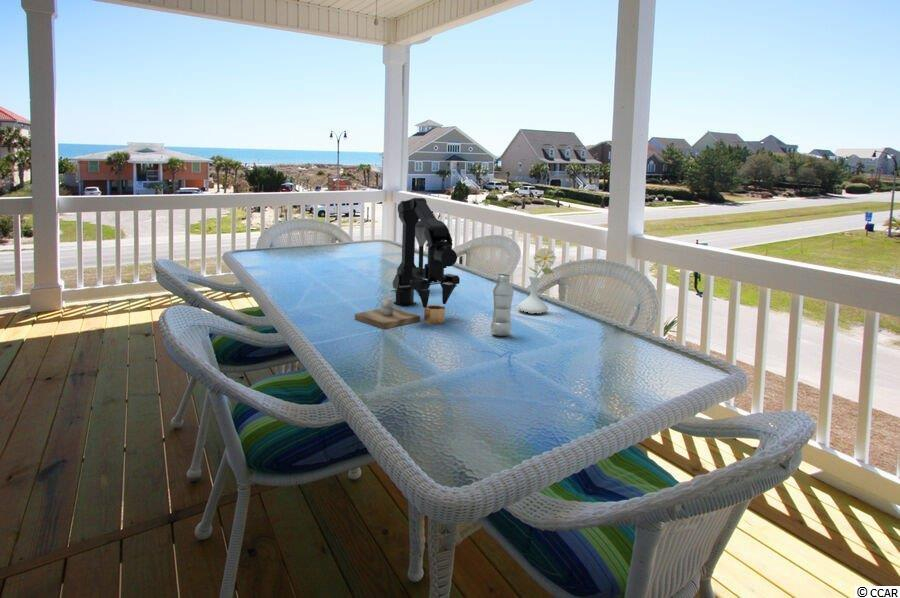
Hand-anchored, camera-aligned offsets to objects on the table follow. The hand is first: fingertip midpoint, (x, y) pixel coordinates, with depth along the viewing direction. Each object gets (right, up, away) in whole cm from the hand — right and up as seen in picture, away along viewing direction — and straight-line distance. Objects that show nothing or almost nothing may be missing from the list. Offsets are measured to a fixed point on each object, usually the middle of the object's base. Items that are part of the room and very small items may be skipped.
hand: (434, 305), depth 209 cm
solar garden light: (-7, +5, +45) cm, 46 cm away
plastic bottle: (+22, -10, -13) cm, 27 cm away
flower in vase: (+37, -3, +19) cm, 42 cm away
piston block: (-16, -5, 0) cm, 17 cm away
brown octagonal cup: (0, -5, +1) cm, 6 cm away
